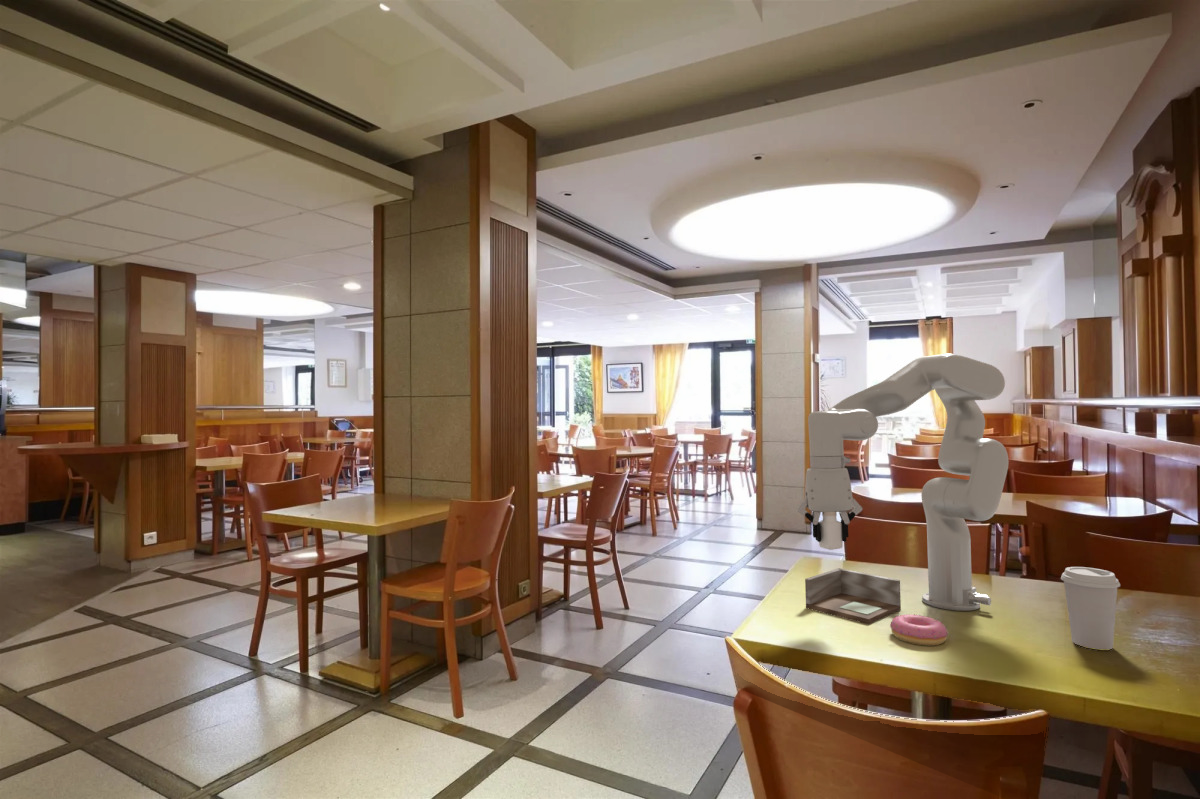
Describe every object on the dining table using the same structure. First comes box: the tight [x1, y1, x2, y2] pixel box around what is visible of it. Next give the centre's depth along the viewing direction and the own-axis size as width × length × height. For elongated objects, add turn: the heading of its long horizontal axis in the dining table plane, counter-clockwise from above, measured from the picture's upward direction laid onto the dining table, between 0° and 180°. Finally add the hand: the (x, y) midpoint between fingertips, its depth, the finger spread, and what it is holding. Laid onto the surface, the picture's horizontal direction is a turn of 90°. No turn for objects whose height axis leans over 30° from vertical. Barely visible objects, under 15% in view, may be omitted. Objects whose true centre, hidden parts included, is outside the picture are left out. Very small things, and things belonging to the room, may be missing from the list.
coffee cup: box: [1060, 566, 1121, 650], centre depth 125 cm, size 10×10×15 cm
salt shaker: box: [818, 512, 843, 551], centre depth 143 cm, size 4×4×10 cm
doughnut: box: [889, 614, 949, 647], centre depth 130 cm, size 11×11×4 cm
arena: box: [804, 568, 902, 625], centre depth 150 cm, size 16×16×7 cm
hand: (830, 539), depth 143 cm, fingers closed on salt shaker, 5 cm apart
